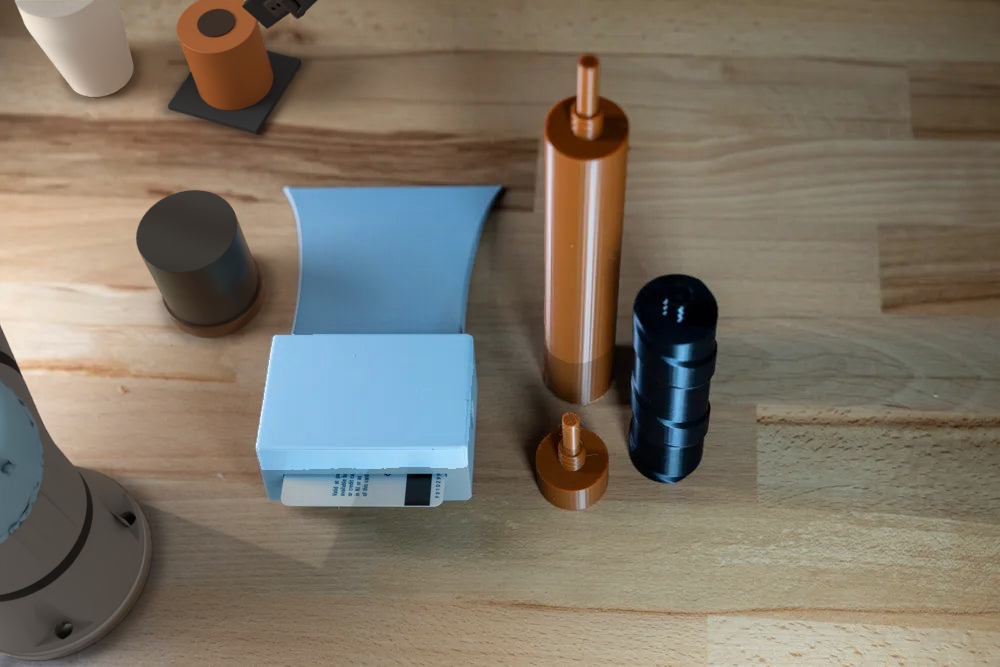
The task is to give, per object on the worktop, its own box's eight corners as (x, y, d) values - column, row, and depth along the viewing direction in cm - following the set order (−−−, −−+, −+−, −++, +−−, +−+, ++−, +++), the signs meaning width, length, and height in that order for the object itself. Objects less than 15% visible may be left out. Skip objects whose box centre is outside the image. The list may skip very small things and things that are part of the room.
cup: (99, 120, 117) (55, 33, 107) (39, 81, 120) (-10, -8, 110) (164, 65, 121) (127, -25, 110) (103, 28, 124) (63, -63, 114)
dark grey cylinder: (237, 350, 103) (208, 288, 94) (148, 321, 105) (112, 257, 96) (283, 269, 107) (259, 203, 99) (196, 242, 109) (165, 175, 101)
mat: (257, 134, 116) (256, 130, 115) (168, 109, 118) (167, 105, 117) (302, 63, 120) (301, 59, 120) (215, 40, 122) (214, 36, 122)
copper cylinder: (252, 118, 116) (232, 60, 109) (184, 99, 118) (161, 40, 111) (286, 64, 119) (269, 4, 112) (220, 46, 121) (199, -14, 114)
